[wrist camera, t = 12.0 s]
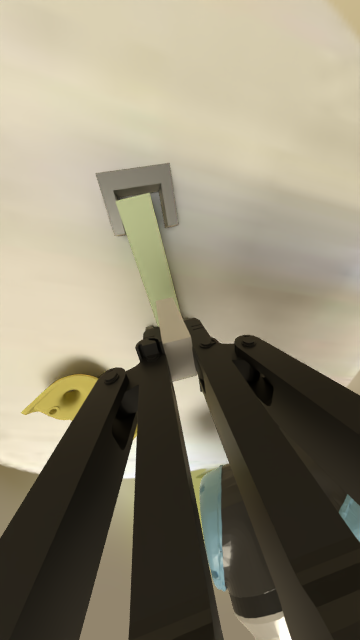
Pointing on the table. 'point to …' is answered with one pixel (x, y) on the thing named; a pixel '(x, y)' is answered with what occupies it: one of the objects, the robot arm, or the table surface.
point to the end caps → (138, 192)
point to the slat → (147, 248)
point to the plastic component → (64, 397)
